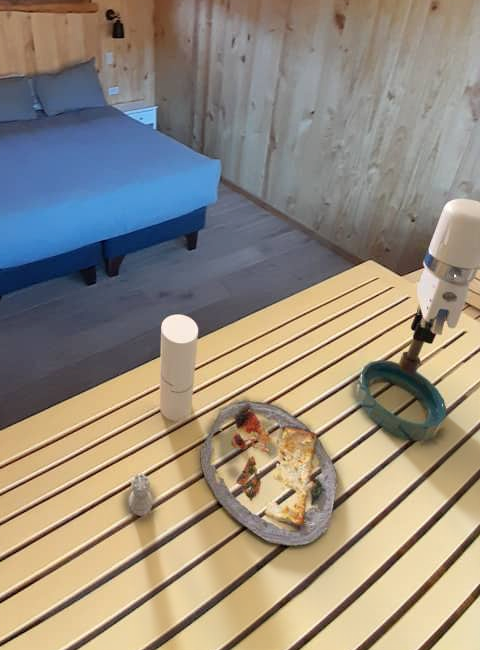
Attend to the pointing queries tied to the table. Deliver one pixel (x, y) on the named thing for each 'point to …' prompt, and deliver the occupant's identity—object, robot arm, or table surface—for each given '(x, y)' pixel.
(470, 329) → the table surface
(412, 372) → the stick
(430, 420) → the ring
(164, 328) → the cylindrical container
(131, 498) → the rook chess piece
